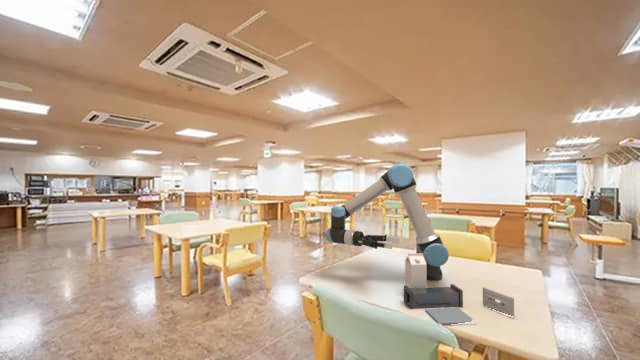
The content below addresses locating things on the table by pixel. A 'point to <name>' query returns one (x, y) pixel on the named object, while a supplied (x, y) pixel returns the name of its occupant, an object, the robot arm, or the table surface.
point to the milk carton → (415, 271)
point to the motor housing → (433, 297)
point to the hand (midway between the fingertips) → (395, 243)
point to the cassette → (504, 305)
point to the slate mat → (449, 316)
